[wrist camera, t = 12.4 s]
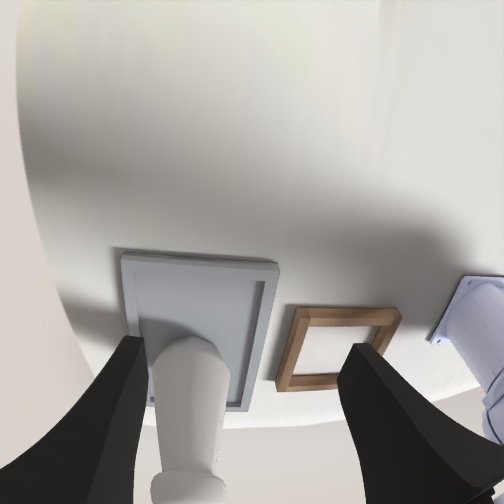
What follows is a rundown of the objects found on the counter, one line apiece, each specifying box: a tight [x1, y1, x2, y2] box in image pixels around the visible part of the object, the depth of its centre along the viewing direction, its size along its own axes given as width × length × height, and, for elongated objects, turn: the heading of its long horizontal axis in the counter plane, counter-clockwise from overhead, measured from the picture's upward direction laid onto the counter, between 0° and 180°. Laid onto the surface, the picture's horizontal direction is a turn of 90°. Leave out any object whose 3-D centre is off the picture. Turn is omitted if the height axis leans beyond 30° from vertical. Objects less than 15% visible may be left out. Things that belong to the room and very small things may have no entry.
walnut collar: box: [275, 307, 402, 392], centre depth 25 cm, size 9×9×1 cm
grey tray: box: [120, 252, 280, 412], centre depth 23 cm, size 10×16×1 cm, turn 172°
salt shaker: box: [150, 335, 231, 504], centre depth 18 cm, size 6×6×13 cm
